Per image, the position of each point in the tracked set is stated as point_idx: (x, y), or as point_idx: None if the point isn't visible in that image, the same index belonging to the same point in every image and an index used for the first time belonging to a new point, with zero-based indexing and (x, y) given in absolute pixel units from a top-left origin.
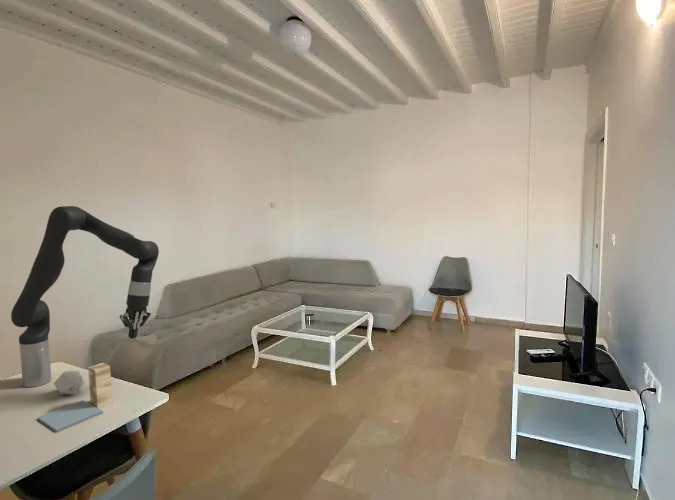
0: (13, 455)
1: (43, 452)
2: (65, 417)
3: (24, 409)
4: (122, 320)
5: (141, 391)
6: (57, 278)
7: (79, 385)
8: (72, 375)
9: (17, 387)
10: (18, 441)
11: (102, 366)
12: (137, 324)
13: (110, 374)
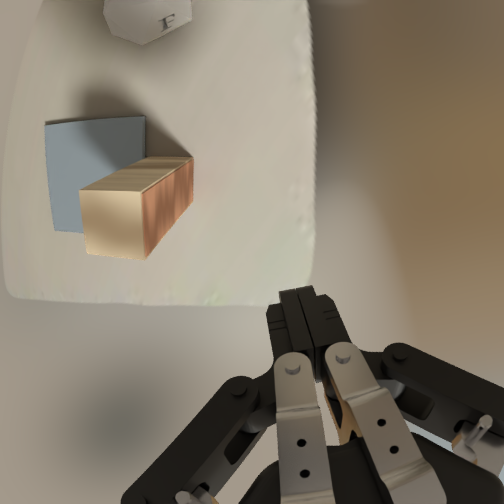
0: (8, 240)
1: (37, 275)
2: (77, 187)
3: (54, 37)
4: (163, 467)
5: (292, 210)
6: None
7: (165, 33)
8: (133, 14)
9: None
10: (13, 197)
11: (120, 237)
12: (333, 419)
13: (159, 241)
